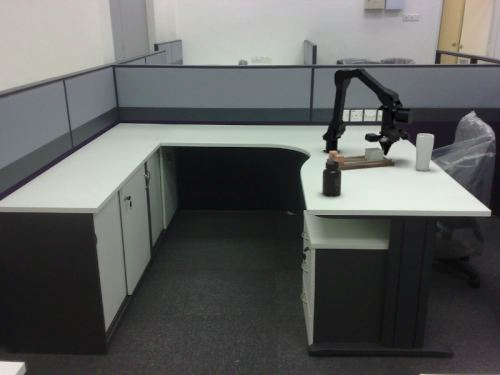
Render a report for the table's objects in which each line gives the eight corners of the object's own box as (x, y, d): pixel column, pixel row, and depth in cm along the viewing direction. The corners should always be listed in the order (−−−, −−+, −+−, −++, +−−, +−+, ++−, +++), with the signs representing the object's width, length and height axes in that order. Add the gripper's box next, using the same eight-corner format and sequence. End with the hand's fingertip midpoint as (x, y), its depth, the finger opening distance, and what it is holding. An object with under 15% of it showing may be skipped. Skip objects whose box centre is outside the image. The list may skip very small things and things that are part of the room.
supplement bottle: (338, 190, 176) (340, 159, 172) (342, 196, 170) (344, 164, 166) (320, 190, 176) (321, 160, 172) (323, 197, 170) (324, 165, 166)
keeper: (364, 158, 212) (365, 148, 210) (376, 157, 213) (377, 147, 211) (370, 161, 206) (371, 151, 205) (383, 160, 207) (383, 150, 206)
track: (326, 161, 213) (327, 150, 211) (379, 157, 218) (380, 146, 216) (338, 170, 200) (339, 158, 198) (394, 165, 205) (395, 153, 203)
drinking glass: (419, 172, 195) (423, 137, 190) (410, 168, 201) (413, 134, 196) (433, 171, 197) (437, 136, 192) (424, 166, 203) (427, 132, 198)
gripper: (376, 126, 196) (374, 161, 201) (417, 123, 199) (413, 158, 204) (365, 120, 206) (363, 155, 211) (403, 118, 210) (400, 152, 215)
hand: (385, 155), depth 210 cm, fingers closed
